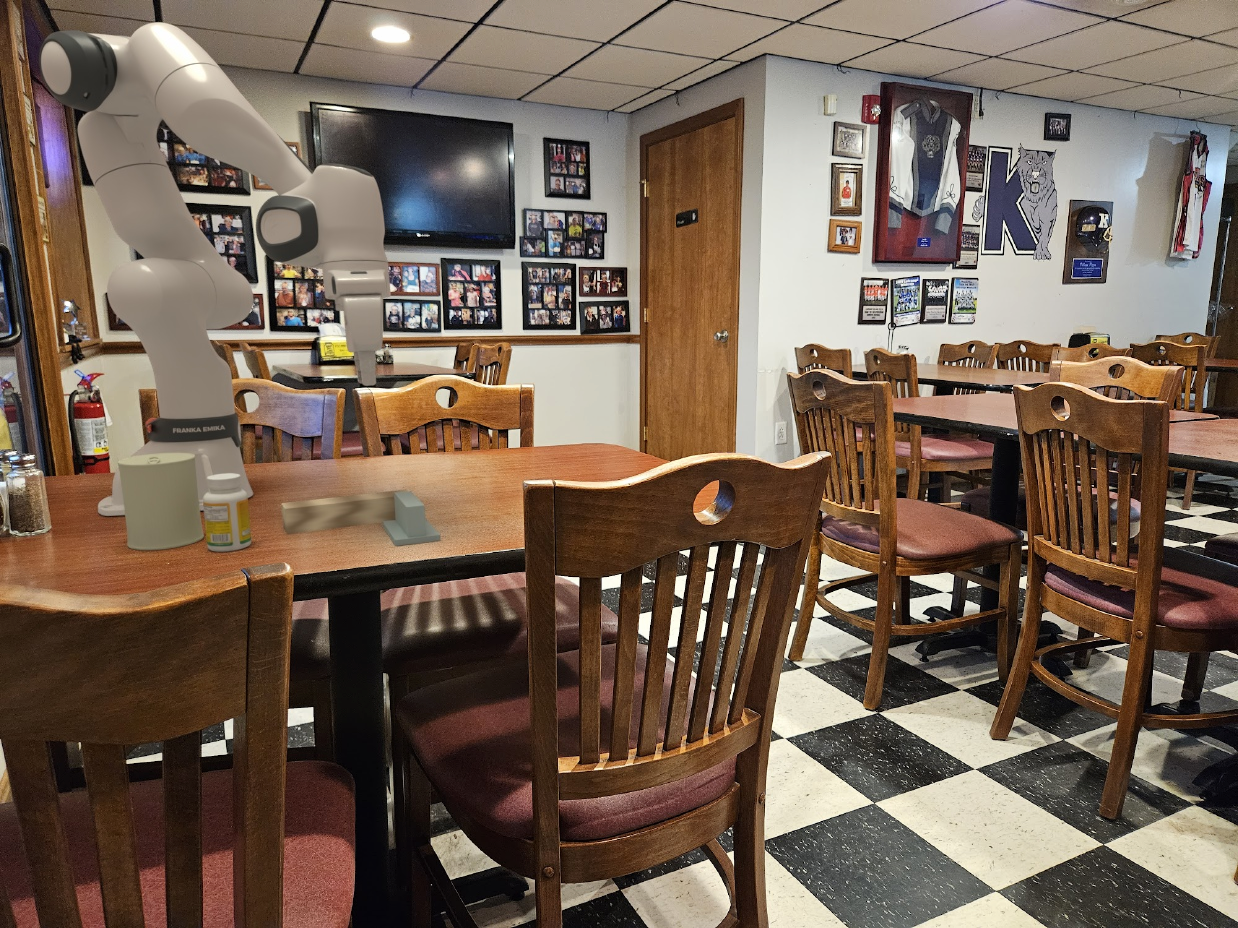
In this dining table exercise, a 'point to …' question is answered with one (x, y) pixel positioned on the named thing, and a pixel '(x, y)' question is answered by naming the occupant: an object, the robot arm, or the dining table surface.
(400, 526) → the ridge
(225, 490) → the supplement bottle
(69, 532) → the dining table surface
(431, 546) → the dining table surface
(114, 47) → the robot arm
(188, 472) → the can
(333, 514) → the plank
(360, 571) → the dining table surface
